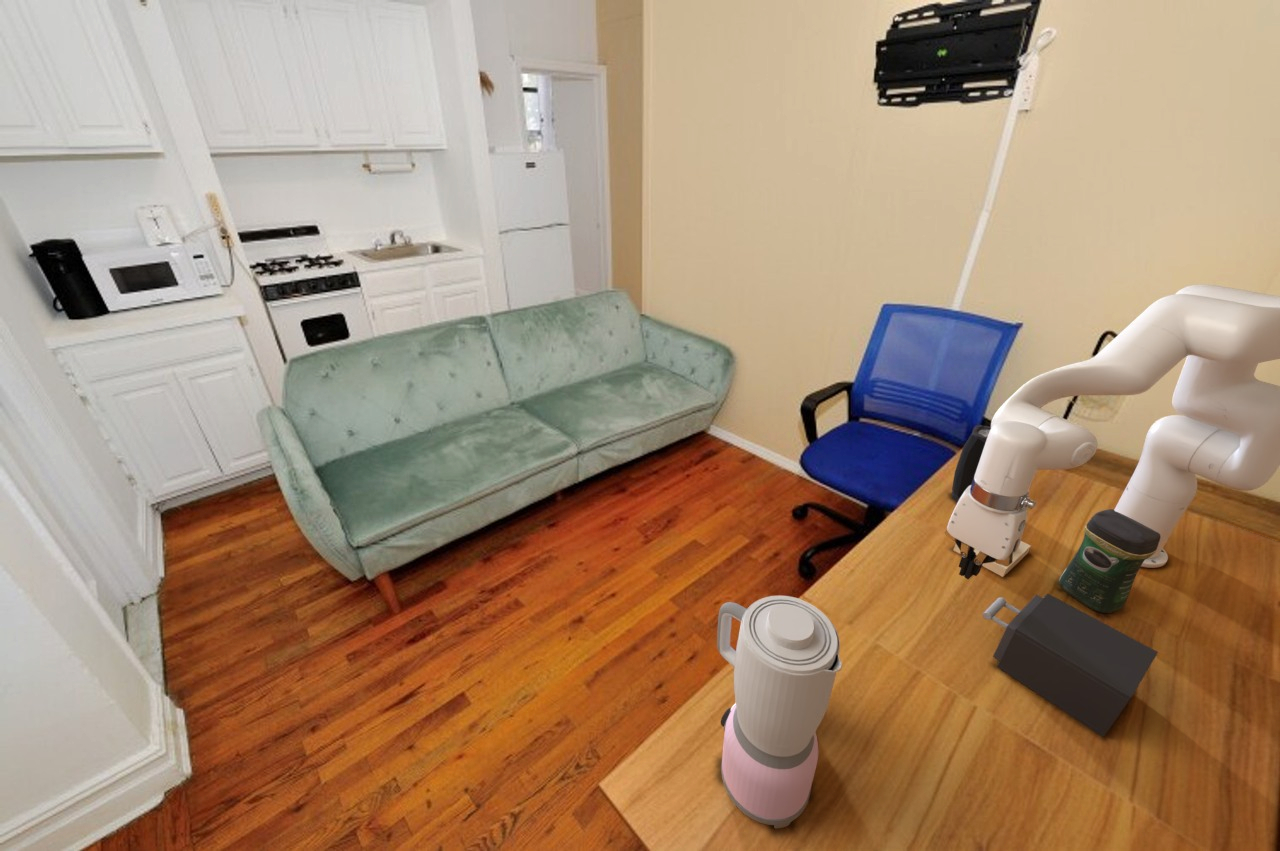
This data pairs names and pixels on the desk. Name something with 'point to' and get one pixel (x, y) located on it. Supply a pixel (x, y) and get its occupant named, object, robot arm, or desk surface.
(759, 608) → the blender
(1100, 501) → the desk surface
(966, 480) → the portable speaker
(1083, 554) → the coffee jar
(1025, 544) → the block
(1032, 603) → the drawer
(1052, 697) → the box
